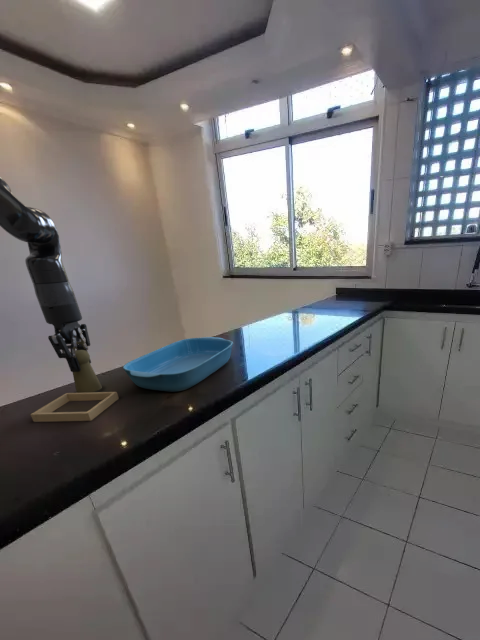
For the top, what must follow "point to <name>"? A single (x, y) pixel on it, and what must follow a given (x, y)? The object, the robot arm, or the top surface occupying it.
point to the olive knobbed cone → (85, 374)
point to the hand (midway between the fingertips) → (81, 367)
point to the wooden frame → (48, 415)
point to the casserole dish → (179, 364)
